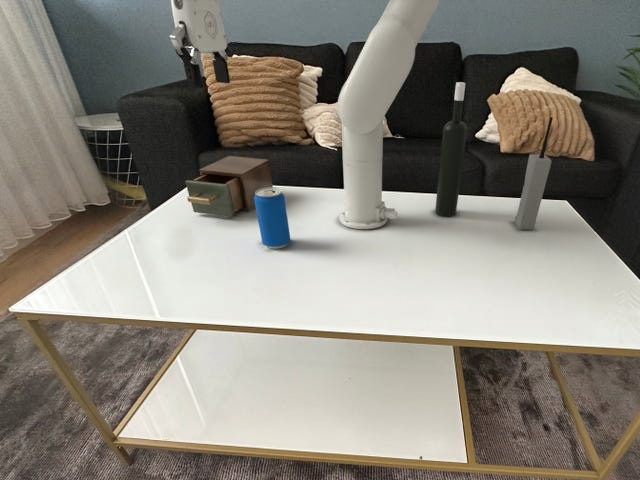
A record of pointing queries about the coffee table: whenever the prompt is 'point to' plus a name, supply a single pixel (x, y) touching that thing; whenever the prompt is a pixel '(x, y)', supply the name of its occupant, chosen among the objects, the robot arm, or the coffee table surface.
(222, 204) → the drawer
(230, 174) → the cabinet
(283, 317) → the coffee table surface
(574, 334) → the coffee table surface
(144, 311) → the coffee table surface
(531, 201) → the vintage mobile phone
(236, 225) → the coffee table surface
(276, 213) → the beverage can
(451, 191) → the wine bottle
